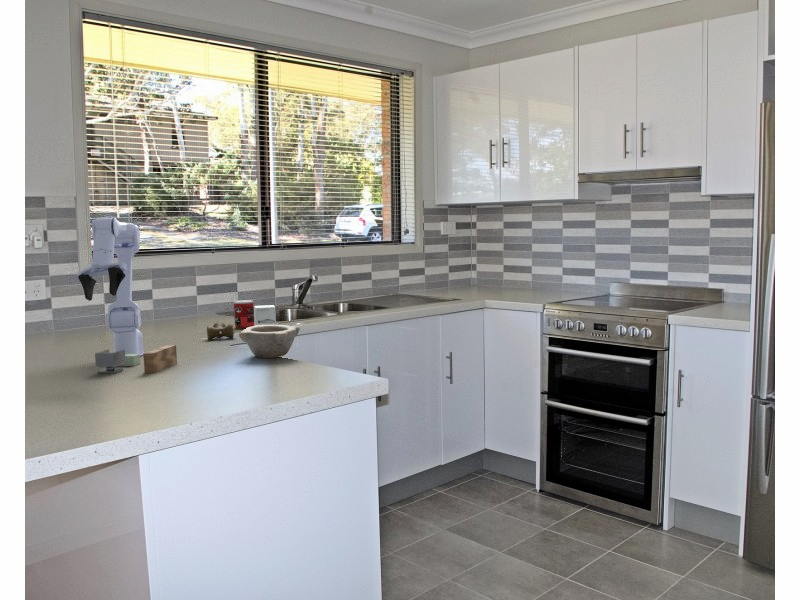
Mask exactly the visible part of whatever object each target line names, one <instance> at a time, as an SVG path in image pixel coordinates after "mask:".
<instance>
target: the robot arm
mask: <svg viewBox="0 0 800 600" xmlns="http://www.w3.org/2000/svg"><path fill="white" fill-rule="evenodd" d="M91 231H92V233H91V234H92V237H91V238H92V241H93V245H92V255H91V256H92V259H91V260H92V261H91V264H90V266H88V267H86V268H84V269H82V270H78V271H77V279H78V280H79V282H80V283H81V286H82V290H83V293H84V298H85V300H86V301H87V300H88V301H89V302H90V301H92V300H93V295H94V289H95V285H96V283H97V279H94V278H93V277H96V276H108V279H109V284H108V285H109V286H108V291H109V294H110V295H112V296H113V297H116V299H115V301H113V302H112V303H110V305H108V308H107V313H106V325H107V328H108V330H110V331H111V333H112V334H113V335H112V337H113V350H114V351H113V353H114V352H117V351H120V350H125V354H140V357H141V356H143V353H144V341H143V339H144V338H143V334H142V332H141V331H140V327H141V326H142V315H141V308H140V306H139V304H138V303H136V302H135V301H133V298H132V296H133V294H132V293H133V265H134V263H133V262H134V257H135V254H137V253H139V252H140V247H141V244H140V242H141V240H140V239H141V238H140V237H141V235H140V234H141V233H140V228H139V226H138V225H137V224H134V223H131V222H123V221H122V222H121V221H119V220H117V217H116V216H115V217H114V216H111V215H110V216H103V217H96V218H95V219H93V220H92V221H91ZM114 255H116V256H117V262H114V258H115V257H114Z"/></svg>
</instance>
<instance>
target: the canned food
mask: <svg viewBox="0 0 800 600" xmlns="http://www.w3.org/2000/svg"><path fill="white" fill-rule="evenodd" d="M254 306H255V305H254V300H253V299H252V300H251V299H246V300H245V299H243V300H234V301H233V315H234V316H233V317H234V326H235V327H236V328H235V327H234V328H235V329H237V328H248V327H252V326H255V319H254Z"/></svg>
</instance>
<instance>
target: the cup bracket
mask: <svg viewBox="0 0 800 600" xmlns="http://www.w3.org/2000/svg"><path fill="white" fill-rule="evenodd" d="M94 359H95V360H94V361H95V367H97V368H104V369H100V370H98V371H97V374H108V375H110V374H112V375H113V374H116V373H118V372H121V371H124V368H123V367H118V366H119V365H121V364H124V363H126V358H125V350H120V351H117V352H114V351H113V352H110V349H104V350H100V351H98V352H95V353H94Z"/></svg>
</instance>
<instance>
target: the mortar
mask: <svg viewBox="0 0 800 600" xmlns="http://www.w3.org/2000/svg"><path fill="white" fill-rule="evenodd" d="M300 330H301V328H300V327H299V326H297V325H287V324H286V325H285V324H276V325H255V324H254V326H252V327H248V328H246V329H242V331H240V332H239V334H238V337H239V339H240V340H241V341H242V342H244V343H246V344H247V346H248V348H249V350H250V351H251V353H252V354H253V355H254V356H255V357H257V358H263V359H273V358H280V357H283V356H285V355H287V354H288V352H289V351H290V350H291V348H292V346H293V343H294V341H295V338H296V337H297V336H298V335H299V332H300Z"/></svg>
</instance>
